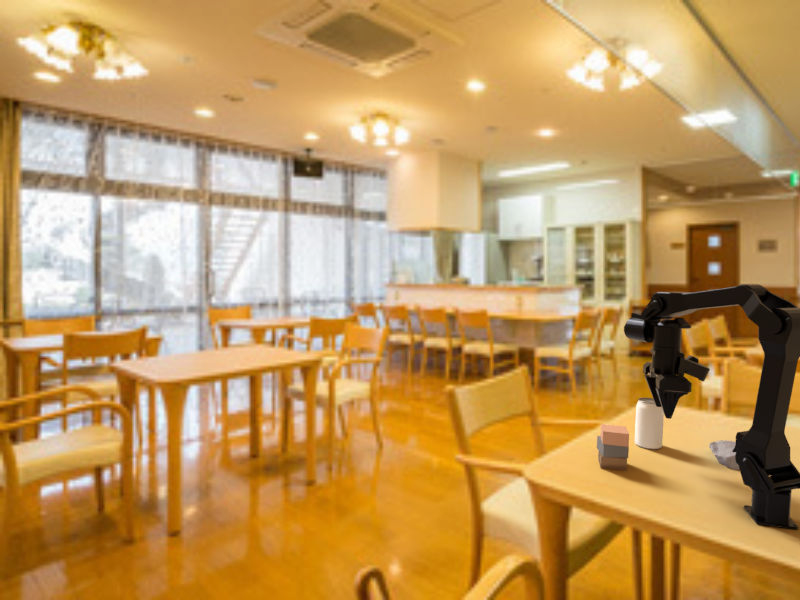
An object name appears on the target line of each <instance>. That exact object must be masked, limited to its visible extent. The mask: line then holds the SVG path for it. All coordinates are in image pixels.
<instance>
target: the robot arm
mask: <svg viewBox="0 0 800 600" xmlns="http://www.w3.org/2000/svg"><path fill="white" fill-rule="evenodd" d="M734 306H735V307H736V306H740V307H741V308H742V310H743V311H744V313H745V315H746V317H747V318H748V319H749V320H750V321H751V322H752V323H753V324H754V325H756V326H757V327H758V329H757V330H758V333H757V334H758V336H757V338H758V341H759V344H760V346H761V348H762V351H763V354H764V355H763V361H762V367H761V371H760V372H761V373H760V378H759V385H758V389H757V394H756V401H755V407H754V413H753V418H752V424H751V427H750V428H749V429H748V430H744V431H738V432H736V435H735V442H736V445H735V448H734V449H733V451H732V452H736V454H735V460H736V463H737V464H738V465H739V469H740V470H739V472H740V475H741V479H742V483H743V484H744V485H745V486H747V487H749V488H750V489H751V491H752V493H751V505H747V504H746V505H745V504H743V509H744V511H746V513H747V514H748V515H749V517H750V518H751V519H752V520H753V521H754V522H755V523H756V524H758V525H762V526H771V527H778V528H784V529H791V528H792V529H791V530H799V525H798V524H796V522H795V521H794V520H793V519H792V518H791V508H792V507H791V505H792V492H793V490H796V489H798V490H799V489H800V471H799V470H798V468H797V467H796V466H795V464H794V463H793V462H792V461H791V445H790V443H789V441H788V439H787V436H786V434H785V430H786V425H787V420H788V419H787V418H788V414H789V408H790V404H791V400H792V399H791V397H792V394H793V388H794V382H795V378H796V372H797V366H798V361H799V358H800V307H798V306H797V305H796V304H794V303H793V302H791V301H789V300H787V299H785V298H784V297H781V296H779V295H778V294H775V293H773V292H772V291H770V290H769V289H767V288H766V287H764V286H763V285H762V284H757V283H754V284H753V283H752V284H751V283H747V284H739V285H736V286H730V287H724V288H717V289H709V290H707V289H706V290H702V291H696V292H695V291H693V292H691V291H689V292H688V291H657V292H654V293H653V294H652V295H651V298H650V300H649V302H648V304H646V306H645V308H644V309H643V311H642V312H632V313H631V314H630V315H631V316H630V318H628V319H627V321H626V322H625V323H624V327H623V332H624V335H625V337H626V338H627V339H628V340H633V341H639V342H643V343H644V342H645V343H650V344H652V347H650V353H651V354H652V355H651V361H646V362H645V363H644V364H643V365H642V373H643V377H644V378H645V381H646V383H647V386H648V389H649V391H650V393H651V396H652V398H653V399H654V402H655V404H656V406H657V407H662V409H663V412H664V418H666V419H668V420H669V419H672V418H673V415H674V412H675V409H676V407H677V405H678V402H679V400H680V399H681V398H682V397H683V396H685V395H688V394H689V393H692V387H693V385H692V382H691V381H690V380H689V379H688V378H687V377H685V374H686V375H689V376H690V377H693V378H696V379H697V380H699V381H701V382H705V380H706V378H707V376H708V374H709V372H710V370H711V368H710V367H708V366H706V365H704V364H702V363H700V362H699V358H697V357H696V356H693V355H690V354H689V355H688V356H687V357H686V355H685V353H684V352H682V334H683V333H682V332H683V330H685V329H691V328H692V326H691V324H690V323H689V322H688V321H686V319H685V318H684V317H683V316H687V315H690V314H693V313H694V312H697V311H699V310H705V309H706V310H707V309H714V308H726V307H734Z"/></svg>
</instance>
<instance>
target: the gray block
mask: <svg viewBox="0 0 800 600" xmlns="http://www.w3.org/2000/svg"><path fill="white" fill-rule="evenodd" d="M629 447H630V446H629ZM629 447H625V446H616V445H607V444H602V440H601V436H600V435H597V437H596V449H597V450H598V453H599V452H600V453H601V455H602V456H603V457H613V458H627V459H629V452H630V451H629V449H630V448H629Z"/></svg>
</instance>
